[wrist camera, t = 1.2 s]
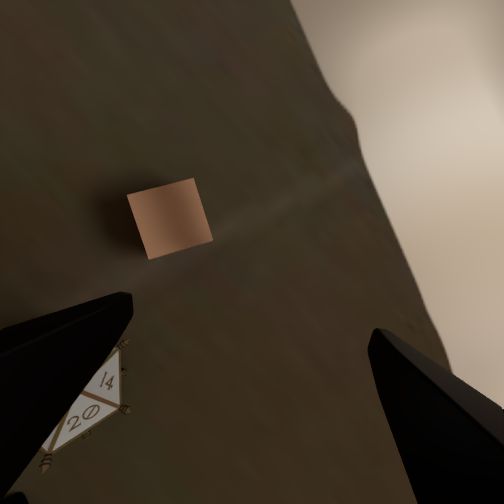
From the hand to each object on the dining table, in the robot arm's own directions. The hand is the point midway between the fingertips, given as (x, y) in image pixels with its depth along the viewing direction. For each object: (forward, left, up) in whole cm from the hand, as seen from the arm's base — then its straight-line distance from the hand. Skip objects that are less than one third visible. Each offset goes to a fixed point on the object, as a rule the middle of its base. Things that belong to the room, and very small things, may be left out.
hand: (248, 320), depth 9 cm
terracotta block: (-3, +6, -15) cm, 17 cm away
